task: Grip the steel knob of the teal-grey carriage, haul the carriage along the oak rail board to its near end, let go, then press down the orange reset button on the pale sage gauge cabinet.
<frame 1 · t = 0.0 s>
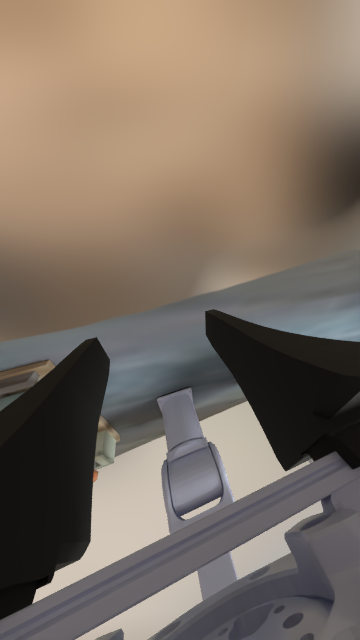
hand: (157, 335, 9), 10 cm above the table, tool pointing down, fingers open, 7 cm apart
rail track: (69, 416, 26), on the table
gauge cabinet: (93, 436, 31), resting on rail track
carriage: (16, 434, 17), point 5 cm above the table, slide at 0.0 cm
reset button: (87, 466, 27), point 5 cm above the table, slide at 0.0 cm
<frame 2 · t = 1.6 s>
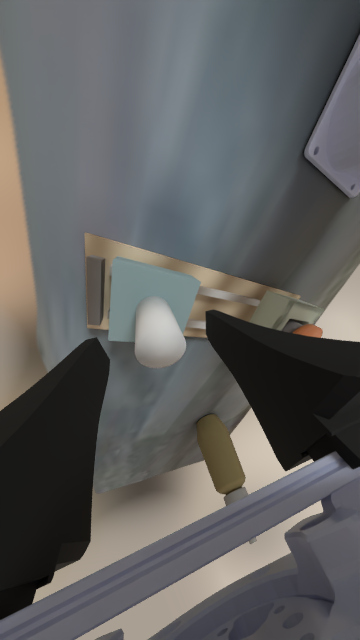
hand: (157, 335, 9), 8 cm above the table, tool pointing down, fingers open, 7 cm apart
rail track: (209, 306, 18), on the table
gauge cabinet: (261, 315, 22), resting on rail track
squeeze bottle: (206, 418, 37), on the table
carriage: (154, 318, 11), point 5 cm above the table, slide at 0.0 cm
reset button: (289, 332, 18), point 5 cm above the table, slide at 0.0 cm
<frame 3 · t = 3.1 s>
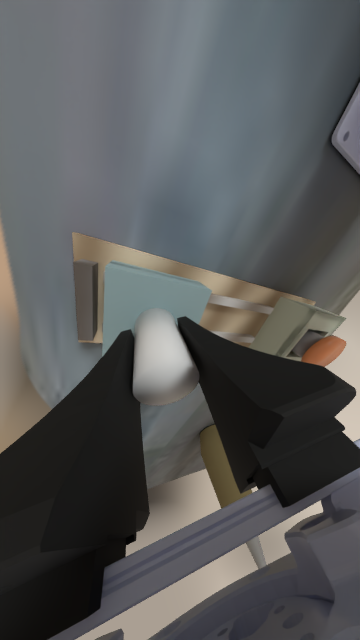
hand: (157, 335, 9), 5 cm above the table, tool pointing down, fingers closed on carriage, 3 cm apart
rail track: (216, 314, 17), on the table
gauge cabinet: (272, 322, 20), resting on rail track
squeeze bottle: (209, 428, 35), on the table
carriage: (157, 334, 9), point 5 cm above the table, slide at 0.0 cm, touching gripper
reset button: (306, 344, 16), point 5 cm above the table, slide at 0.0 cm
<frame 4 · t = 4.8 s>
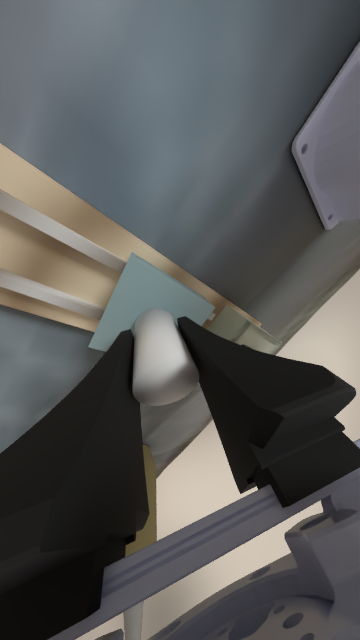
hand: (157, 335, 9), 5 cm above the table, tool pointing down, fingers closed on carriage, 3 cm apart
rail track: (151, 304, 14), on the table
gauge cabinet: (217, 335, 18), resting on rail track
squeeze bottle: (135, 449, 30), on the table
carriage: (157, 335, 9), point 5 cm above the table, slide at 8.0 cm, touching gripper
reset button: (240, 362, 14), point 5 cm above the table, slide at 0.0 cm
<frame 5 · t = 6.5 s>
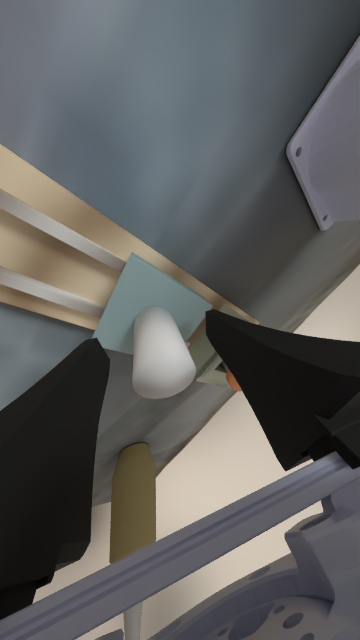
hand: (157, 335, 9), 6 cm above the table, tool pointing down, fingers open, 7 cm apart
rail track: (150, 303, 14), on the table
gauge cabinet: (215, 333, 19), resting on rail track
squeeze bottle: (134, 447, 30), on the table
carriage: (156, 332, 10), point 5 cm above the table, slide at 8.0 cm
reset button: (237, 360, 15), point 5 cm above the table, slide at 0.0 cm
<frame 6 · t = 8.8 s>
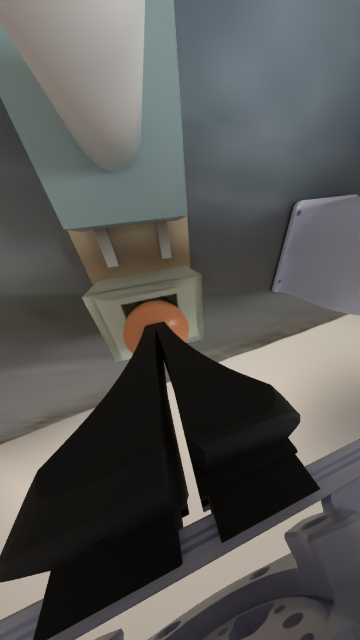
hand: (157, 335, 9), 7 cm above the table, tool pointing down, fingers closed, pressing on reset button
rail track: (117, 167, 9), on the table
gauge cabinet: (150, 299, 15), resting on rail track
carriage: (99, 102, 5), point 5 cm above the table, slide at 8.0 cm
reset button: (155, 320, 11), point 5 cm above the table, slide at 0.3 cm, touching gripper
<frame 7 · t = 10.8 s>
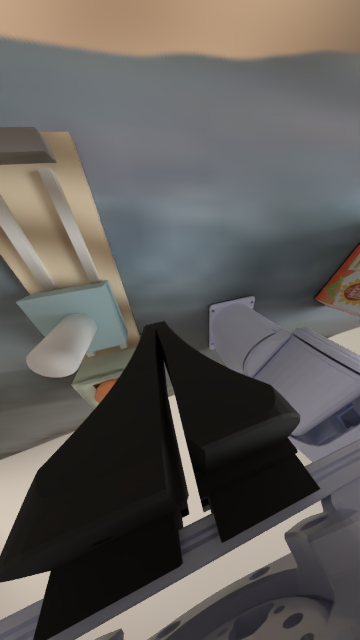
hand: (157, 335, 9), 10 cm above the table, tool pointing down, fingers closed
rail track: (92, 309, 17), on the table
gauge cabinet: (119, 362, 23), resting on rail track
carriage: (75, 332, 13), point 5 cm above the table, slide at 8.0 cm
reset button: (116, 381, 19), point 4 cm above the table, slide at 1.1 cm
cracker box: (347, 268, 25), on the table
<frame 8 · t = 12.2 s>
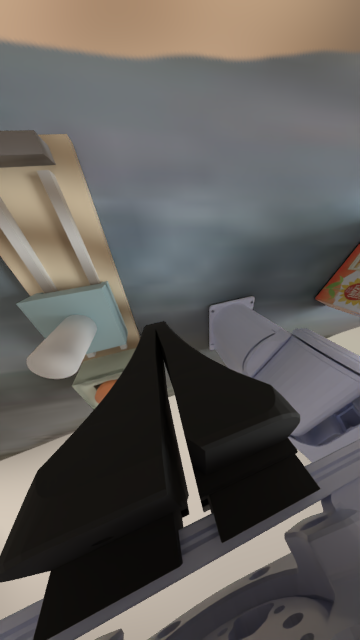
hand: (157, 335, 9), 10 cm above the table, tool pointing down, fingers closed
rail track: (92, 310, 17), on the table
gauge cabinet: (119, 362, 23), resting on rail track
carriage: (75, 333, 13), point 5 cm above the table, slide at 8.0 cm
reset button: (116, 382, 20), point 4 cm above the table, slide at 1.1 cm
cracker box: (347, 268, 25), on the table
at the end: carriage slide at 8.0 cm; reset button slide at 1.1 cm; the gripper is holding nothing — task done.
